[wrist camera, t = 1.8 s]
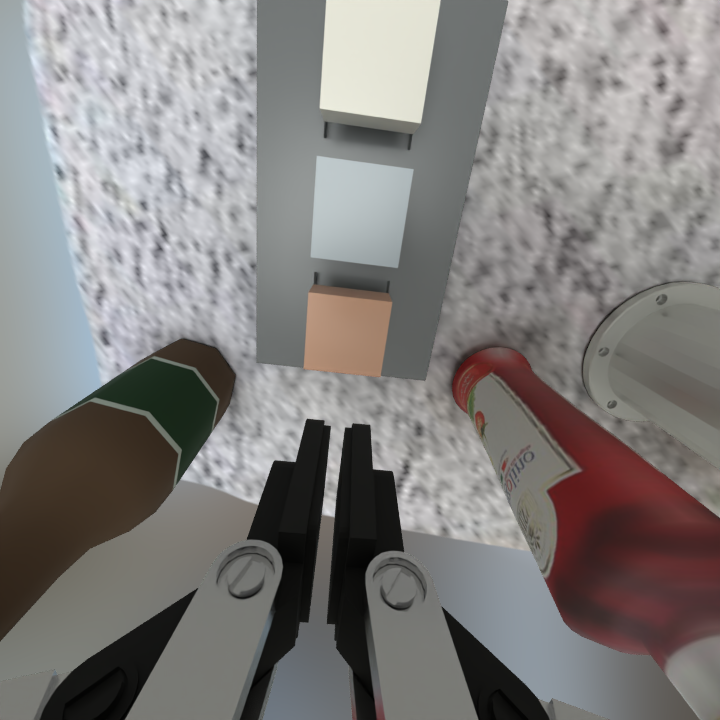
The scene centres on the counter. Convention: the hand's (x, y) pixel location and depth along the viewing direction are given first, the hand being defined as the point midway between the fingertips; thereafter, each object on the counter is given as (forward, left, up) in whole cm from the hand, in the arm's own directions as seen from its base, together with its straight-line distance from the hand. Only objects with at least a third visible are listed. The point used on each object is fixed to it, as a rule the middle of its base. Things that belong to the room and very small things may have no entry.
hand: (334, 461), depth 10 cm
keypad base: (0, -7, -19) cm, 20 cm away
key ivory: (0, -14, -16) cm, 21 cm away
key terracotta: (0, 0, -16) cm, 16 cm away
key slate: (0, -7, -16) cm, 18 cm away
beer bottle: (+13, +8, -19) cm, 25 cm away
